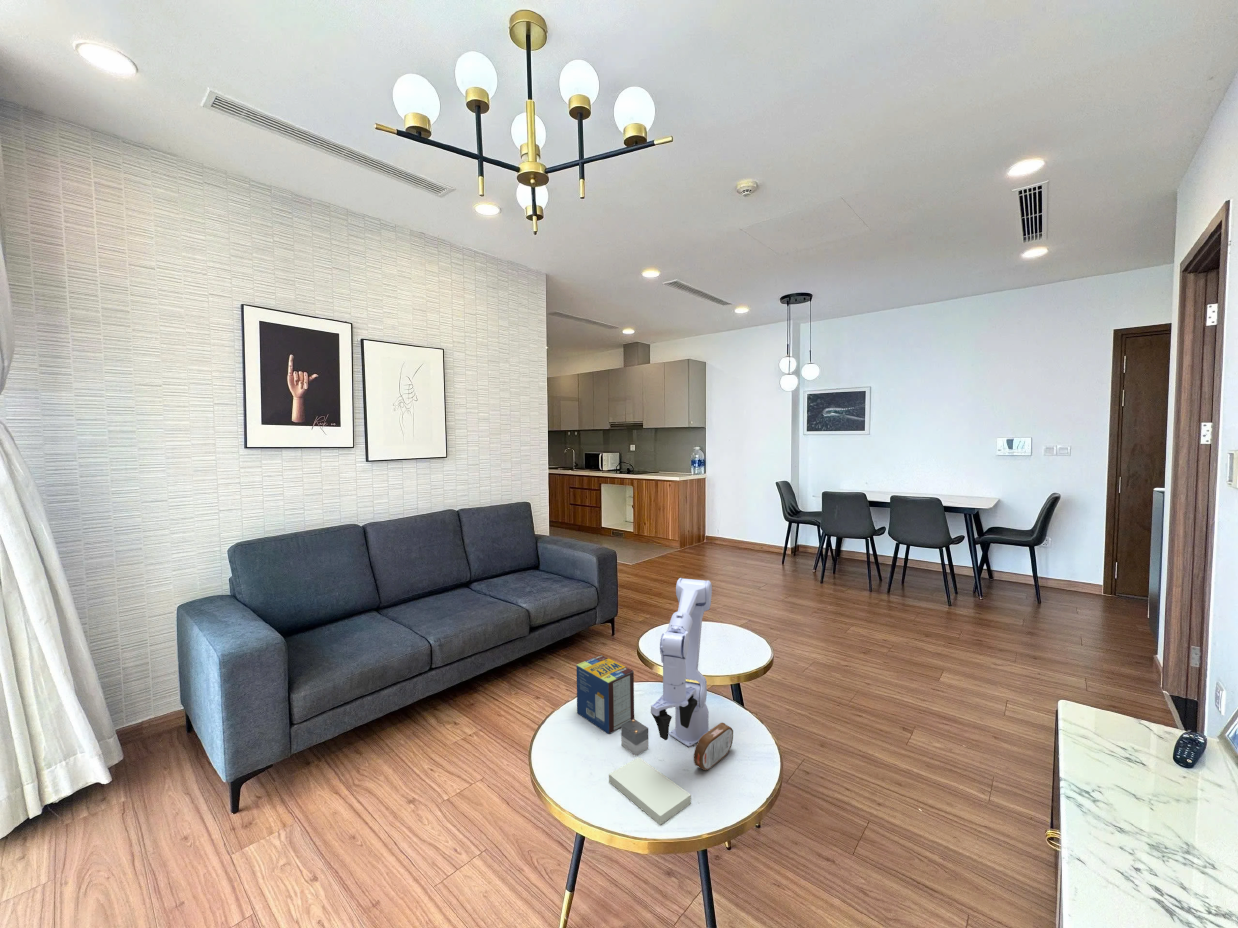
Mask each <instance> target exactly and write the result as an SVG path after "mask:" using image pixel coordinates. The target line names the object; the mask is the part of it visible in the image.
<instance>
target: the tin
mask: <svg viewBox="0 0 1238 928" xmlns="http://www.w3.org/2000/svg"><path fill="white" fill-rule="evenodd" d="M733 740H734V729H733V728H732V727H731V726H729V725H728V724H726V723H725V722H720V723H719V724H717V725H715V726H714V727H713V728H711V729H710V730H709V731H708V732H707V733H706V734H704V735H703V736H702V737H701V738H700V740H699V741H698V742H697V743H696V746H695V749H694V752H693V763H694V765H695V766H696V767H698V768H700V769H701V770H703V771H708V770H710V769H711V768H713V767H714V766H715V765H717V764H718V763H719V762H721V760H723V759H724V758H725V757H726V756H727V755H729V752H730V750H731V748H732V745H733Z"/></svg>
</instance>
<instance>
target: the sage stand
mask: <svg viewBox="0 0 1238 928" xmlns="http://www.w3.org/2000/svg"><path fill="white" fill-rule="evenodd" d="M608 782H609V783H610V784H611V785H612V786H614V787H615V788H616V789H617V790H618V791H620V793H622V794H623V795H624V796H625V797H626V798H628V799H629V800H630V801H631V802H632V803H634V804H635V805H636V806H637V807H638V808H640V809H641V810H642V811H643V812H644V813H646V814H647V816H648V817H650V818H651V819H653V820H654V821H655V823H657V824H658V825H663V824H664V823H665V822H667V821H668V820H670V818H673V817H674V816H675V815H676V814H678V813H679V812H681V811H682V810H683V809H685V808H686V807H687V806H689V805H691V804H692V795H691V794H690V793H689V792H688V791H687V790H685V789H684V788H682V787H681V786H679V784H677V783H675V782H674V781H673V780H671V779H669V777H667V776H666V775H664V774H663V773H661V772H660V771H659V770H658V769H656V768H655V767H653V766H652V765H651V764H649V763H648V762H647V761H645V760H644V759H642V758H641V757H639V756H638V757H636V758H634V759H632V760H631V761H629V762H628V763H626V764H624V765H622V766H620V767H619V768H617V769H615V770H613V771H612V772H610V773H609V774H608Z"/></svg>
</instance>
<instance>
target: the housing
mask: <svg viewBox="0 0 1238 928" xmlns="http://www.w3.org/2000/svg"><path fill="white" fill-rule="evenodd" d="M620 731H621V733H620V734H621V735H620V736H621V747H623V748H625V749H626V750H627V751H628V752H630V753H631V754H632V755H634V756H635V757H637V756H639V755H640V754H642V753H644V752H646V751H648V750H649V727H648V726H646V725H644V724H642V722H639V721H638V720H637V719H635V718H634V719H632V720H630V721H628V722H626V723H624V724H622V725H621V728H620Z"/></svg>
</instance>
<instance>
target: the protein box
mask: <svg viewBox="0 0 1238 928" xmlns="http://www.w3.org/2000/svg"><path fill="white" fill-rule="evenodd" d="M634 682H635V673H634V670H633V669H632V668H631V669H630V668H629V667H627V666H625V665H623V664H621V663H620V662H617V661H614V659H613V660H612V659H610V658H608V657H606V656H605V655H602V654H600V655H597V656H594V657H593V658H590V659H587V660H585V661H582V662H579V663H577V664H576V712H577V713H576V714H578V715H579V716H580V717H583V718H584V719H586V720H587V721H588V722H590V723H591V724H593V725H594V726H596V727H597V728H599V729H600V730H602V731H603V732H605V733H606V734H608V735H611V733H613V732H616V731H618V730H619V729H621V725H622V724H624V723H626V722H628V721H630V720H632V719H635V683H634Z"/></svg>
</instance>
